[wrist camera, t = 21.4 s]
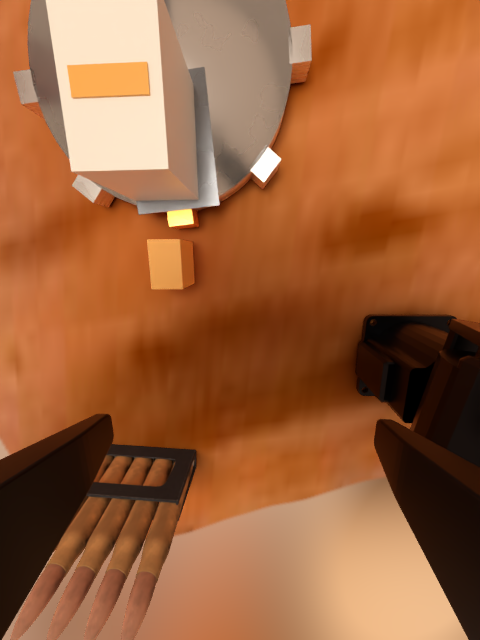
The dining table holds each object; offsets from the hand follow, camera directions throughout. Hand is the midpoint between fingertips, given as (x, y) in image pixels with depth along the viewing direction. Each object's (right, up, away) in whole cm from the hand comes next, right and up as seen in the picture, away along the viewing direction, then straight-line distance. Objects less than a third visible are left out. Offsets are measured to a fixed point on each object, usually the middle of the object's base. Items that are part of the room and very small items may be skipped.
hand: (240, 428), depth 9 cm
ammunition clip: (-9, -9, +15) cm, 20 cm away
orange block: (-4, +8, +11) cm, 14 cm away
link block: (-5, +14, +7) cm, 16 cm away
